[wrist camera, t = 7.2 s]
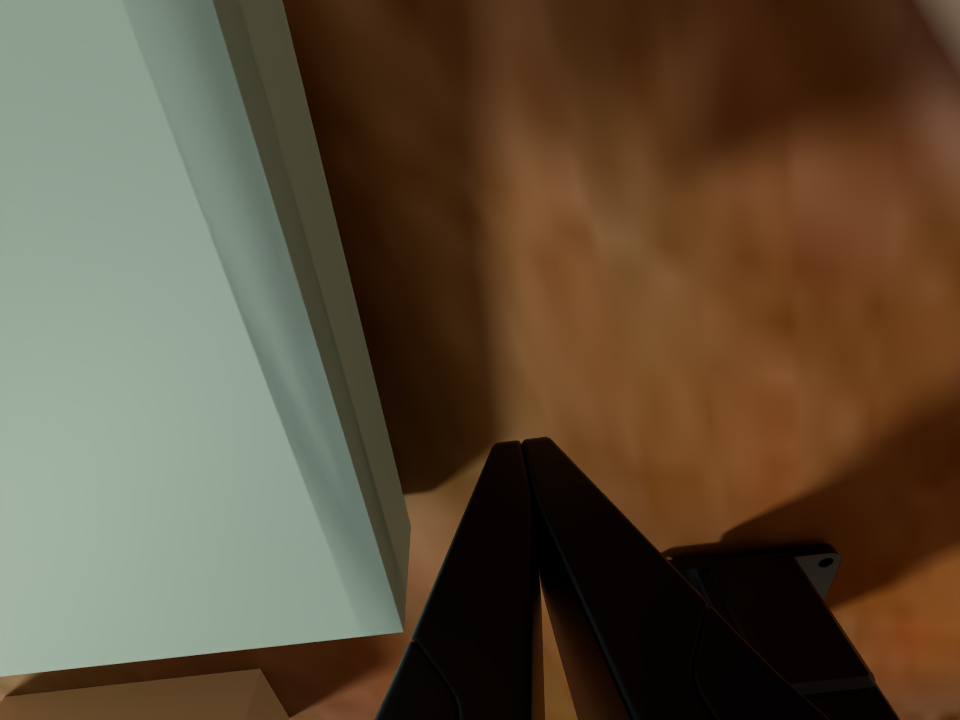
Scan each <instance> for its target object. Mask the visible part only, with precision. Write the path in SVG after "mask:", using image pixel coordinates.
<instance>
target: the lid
mask: <svg viewBox="0 0 960 720" xmlns="http://www.w3.org/2000/svg"><path fill="white" fill-rule="evenodd" d="M410 532H411V525H410V521H409V517H408V513H407V509H406V505H405V501H404V497H403V492H402V488H401V484H400V480H399V476H398V472H397V468H396V464H395V460H394V456H393V452H392V447H391V443H390V439H389V435H388V431H387V427H386V423H385V419H384V415H383V411H382V406H381V402H380V398H379V394H378V390H377V386H376V382H375V378H374V374H373V370H372V366H371V361H370V357H369V353H368V349H367V345H366V341H365V337H364V333H363V329H362V325H361V320H360V316H359V312H358V308H357V304H356V300H355V296H354V292H353V288H352V284H351V280H350V275H349V271H348V267H347V263H346V259H345V255H344V251H343V247H342V243H341V239H340V234H339V230H338V226H337V222H336V218H335V214H334V210H333V206H332V202H331V198H330V194H329V189H328V185H327V181H326V177H325V173H324V169H323V165H322V161H321V157H320V153H319V148H318V144H317V140H316V136H315V132H314V128H313V124H312V120H311V116H310V112H309V108H308V103H307V99H306V95H305V91H304V87H303V83H302V79H301V75H300V71H299V67H298V62H297V58H296V54H295V50H294V46H293V42H292V38H291V34H290V30H289V26H288V22H287V17H286V13H285V9H284V5H283V1H282V0H0V677H2V676H11V675H20V674H29V673H38V672H47V671H56V670H65V669H74V668H83V667H92V666H101V665H110V664H119V663H128V662H137V661H146V660H155V659H165V658H174V657H183V656H192V655H201V654H210V653H219V652H228V651H237V650H246V649H255V648H264V647H273V646H282V645H291V644H300V643H309V642H318V641H327V640H337V639H346V638H355V637H364V636H373V635H382V634H391V633H400V632H404V620H405V605H406V591H407V576H408V562H409V547H410Z"/></svg>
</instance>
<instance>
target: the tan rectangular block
mask: <svg viewBox="0 0 960 720" xmlns="http://www.w3.org/2000/svg"><path fill="white" fill-rule="evenodd" d="M0 720H289V716H288V715H287V713H286V711H285V710H284V708H283V706H282V705H281V703H280V701H279V700H278V698H277V696H276V695H275V693H274V691H273V690H272V688H271V686H270V685H269V683H268V681H267V680H266V678H265V676H264V675H263V673H262V671H261V670H260V669H252V670H243V671H234V672H225V673H216V674H207V675H198V676H189V677H180V678H170V679H161V680H152V681H143V682H134V683H125V684H116V685H107V686H98V687H89V688H80V689H71V690H62V691H53V692H44V693H35V694H26V695H17V696H8V697H4V698H3V700H2V701H1V703H0Z"/></svg>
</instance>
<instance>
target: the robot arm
mask: <svg viewBox="0 0 960 720" xmlns="http://www.w3.org/2000/svg"><path fill="white" fill-rule="evenodd" d="M840 561H841V557H840V555H839V554H838V553H837V551H836V550H835V549H834V547H833V546H832V545H830V544H828V543H821V544H812V545H803V546H794V547H785V548H776V549H767V550H758V551H749V552H740V553H731V554H722V555H712V556H703V557H694V558H685V559H676V560H667V559H666V558H665V557H664V556H663V555H662V554H661V553H660V552H659V551H658V550H657V549H656V548H655V547H654V546H653V545H652V544H651V543H650V542H649V540H648V539H647V538H646V537H645V536H644V535H643V534H642V533H641V532H640V531H639V530H638V529H637V528H636V527H635V526H634V525H633V524H632V523H631V522H630V521H629V520H628V519H627V518H626V517H625V516H624V514H623V513H622V512H621V511H620V510H619V509H618V508H617V507H616V506H615V505H614V504H613V503H612V502H611V501H610V500H609V499H608V498H607V497H606V496H605V495H604V494H603V493H602V492H601V491H600V490H599V488H598V487H597V486H596V485H595V484H594V483H593V482H592V481H591V480H590V479H589V478H588V477H587V476H586V475H585V474H584V473H583V472H582V471H581V470H580V469H579V468H578V467H577V466H576V465H575V464H574V462H573V461H572V460H571V459H570V458H569V457H568V456H567V455H566V454H565V453H564V452H563V451H562V450H561V449H560V448H559V447H558V446H557V445H556V444H555V443H554V442H553V441H552V440H551V439H550V438H548V437H540V438H532V439H525V440H524V441H523V442H522V444H521V443H520V441H508V442H500V443H496V444H494V445H493V447H492V449H491V451H490V453H489V456H488V458H487V460H486V463H485V465H484V467H483V470H482V472H481V475H480V477H479V479H478V482H477V484H476V486H475V489H474V491H473V493H472V496H471V498H470V500H469V503H468V505H467V507H466V510H465V512H464V515H463V517H462V519H461V522H460V524H459V526H458V529H457V531H456V533H455V536H454V538H453V540H452V543H451V545H450V547H449V550H448V552H447V555H446V557H445V559H444V562H443V564H442V566H441V569H440V571H439V573H438V576H437V578H436V580H435V583H434V585H433V587H432V590H431V592H430V595H429V597H428V599H427V602H426V604H425V606H424V609H423V611H422V613H421V616H420V618H419V620H418V623H417V625H416V627H415V630H414V632H413V635H412V640H413V642H409V644H408V646H407V648H406V650H405V653H404V655H403V657H402V660H401V662H400V664H399V667H398V669H397V671H396V674H395V676H394V678H393V680H392V682H391V685H390V687H389V689H388V691H387V693H386V695H385V698H384V700H383V702H382V704H381V706H380V708H379V711H378V713H377V715H376V717H375V719H374V720H545V705H544V673H543V641H542V609H541V591H540V581H541V587H542V591H543V595H544V599H545V603H546V607H547V610H548V614H549V618H550V621H551V625H552V628H553V632H554V635H555V639H556V643H557V646H558V650H559V653H560V657H561V661H562V664H563V668H564V671H565V675H566V678H567V682H568V686H569V689H570V693H571V696H572V700H573V703H574V707H575V711H576V714H577V718H578V720H900V719H899V717H898V716H897V714H896V713H895V711H894V710H893V708H892V707H891V705H890V704H889V702H888V701H887V699H886V698H885V696H884V695H883V693H882V692H881V690H880V689H879V687H878V686H877V684H876V683H875V678H874V675H873V674H872V672H871V671H870V669H869V668H868V666H867V665H866V663H865V662H864V660H863V659H862V657H861V656H860V654H859V653H858V651H857V650H856V648H855V647H854V645H853V644H852V642H851V641H850V639H849V638H848V636H847V635H846V633H845V632H844V630H843V629H842V627H841V626H840V624H839V623H838V621H837V620H836V618H835V617H834V615H833V614H832V612H831V611H830V609H829V608H828V606H827V605H826V603H825V602H824V599H825V597H826V594H827V592H828V590H829V587H830V585H831V583H832V580H833V578H834V576H835V573H836V571H837V568H838V566H839V564H840ZM539 576H540V578H539Z"/></svg>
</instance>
